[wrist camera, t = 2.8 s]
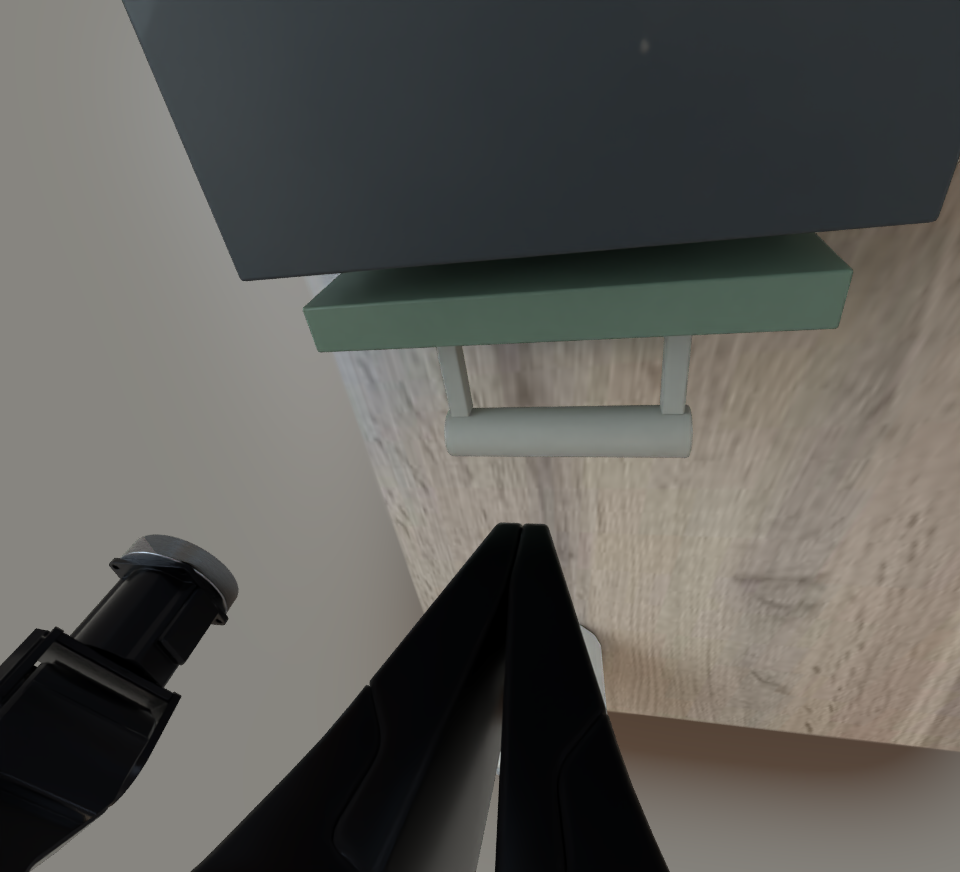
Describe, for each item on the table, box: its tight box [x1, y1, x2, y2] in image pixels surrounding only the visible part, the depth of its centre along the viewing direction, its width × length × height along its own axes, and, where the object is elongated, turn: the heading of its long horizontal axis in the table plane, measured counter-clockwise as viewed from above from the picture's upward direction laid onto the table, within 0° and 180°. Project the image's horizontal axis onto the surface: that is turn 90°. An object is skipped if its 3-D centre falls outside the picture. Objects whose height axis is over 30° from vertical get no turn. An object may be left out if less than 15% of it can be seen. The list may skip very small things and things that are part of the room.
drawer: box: [303, 232, 853, 458], centre depth 12 cm, size 17×11×7 cm, turn 9°
